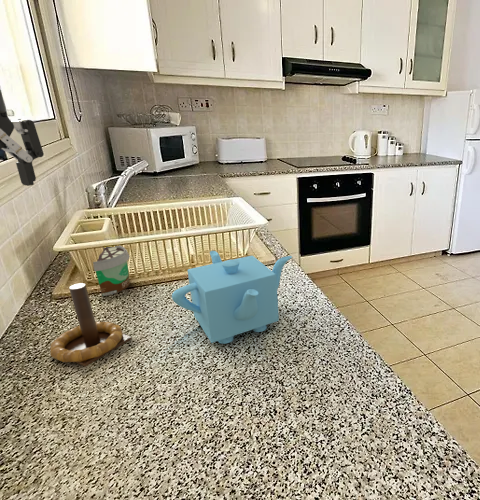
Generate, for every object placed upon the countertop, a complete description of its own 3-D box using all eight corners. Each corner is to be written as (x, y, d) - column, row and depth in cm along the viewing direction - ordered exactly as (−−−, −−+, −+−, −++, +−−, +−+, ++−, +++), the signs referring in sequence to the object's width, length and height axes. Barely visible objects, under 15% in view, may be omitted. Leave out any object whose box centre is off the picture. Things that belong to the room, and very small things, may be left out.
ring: (37, 354, 66) (34, 344, 66) (97, 323, 76) (95, 314, 75) (78, 371, 63) (75, 361, 62) (136, 336, 72) (134, 328, 71)
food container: (132, 298, 89) (123, 259, 85) (102, 302, 87) (92, 262, 83) (138, 276, 99) (131, 241, 96) (111, 280, 97) (103, 244, 94)
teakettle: (171, 346, 72) (159, 277, 66) (217, 299, 89) (211, 241, 84) (265, 357, 70) (261, 287, 64) (294, 307, 87) (292, 248, 81)
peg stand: (54, 357, 68) (32, 291, 63) (101, 331, 76) (86, 271, 71) (86, 371, 65) (67, 303, 60) (133, 343, 73) (119, 280, 68)
